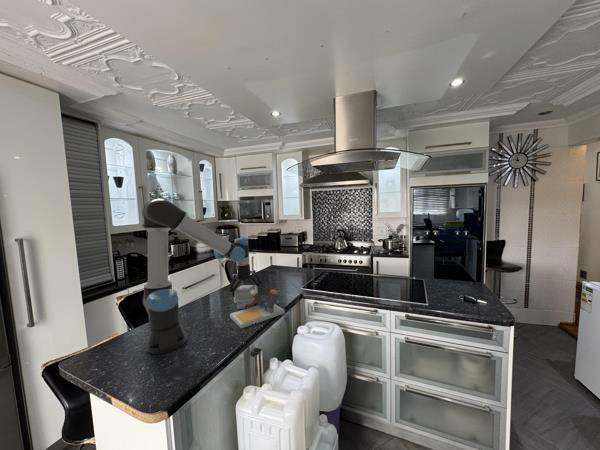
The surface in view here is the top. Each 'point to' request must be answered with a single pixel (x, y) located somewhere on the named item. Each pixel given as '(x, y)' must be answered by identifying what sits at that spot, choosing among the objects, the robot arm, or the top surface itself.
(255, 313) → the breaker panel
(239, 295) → the ink box
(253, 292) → the plain breaker
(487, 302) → the top surface
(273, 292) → the tagged breaker
